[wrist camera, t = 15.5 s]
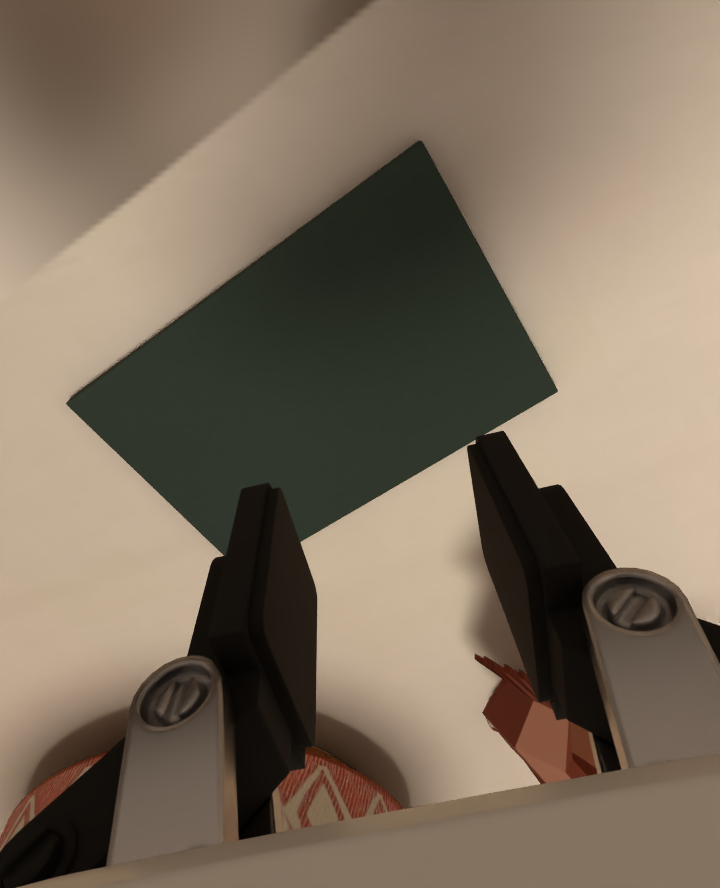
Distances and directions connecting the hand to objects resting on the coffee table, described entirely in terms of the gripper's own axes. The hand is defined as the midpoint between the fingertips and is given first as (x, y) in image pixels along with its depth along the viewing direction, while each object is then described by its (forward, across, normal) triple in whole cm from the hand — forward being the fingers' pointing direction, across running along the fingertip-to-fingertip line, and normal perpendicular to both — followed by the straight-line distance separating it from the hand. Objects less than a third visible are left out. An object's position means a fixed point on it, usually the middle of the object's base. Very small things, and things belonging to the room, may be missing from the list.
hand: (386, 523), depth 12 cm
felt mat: (+14, +2, +3) cm, 15 cm away
